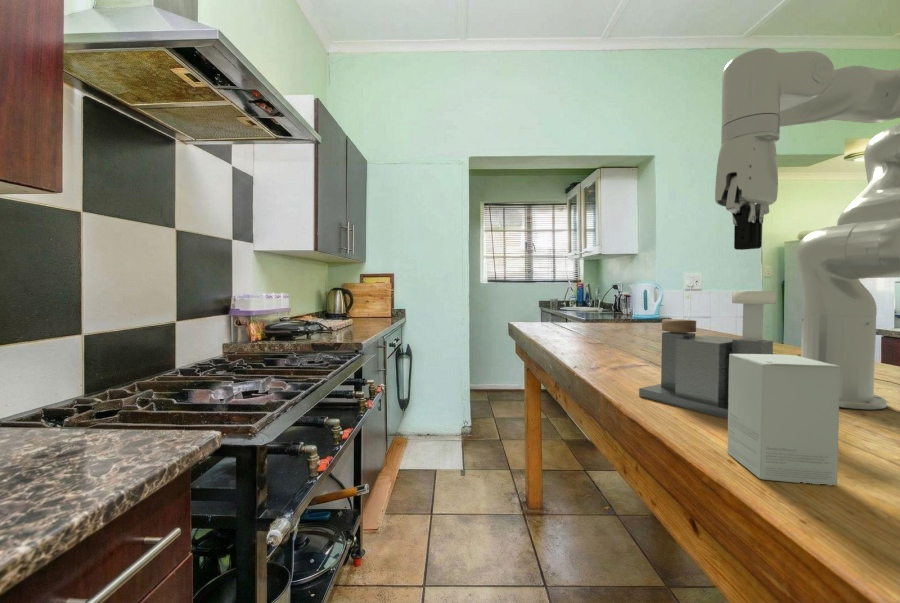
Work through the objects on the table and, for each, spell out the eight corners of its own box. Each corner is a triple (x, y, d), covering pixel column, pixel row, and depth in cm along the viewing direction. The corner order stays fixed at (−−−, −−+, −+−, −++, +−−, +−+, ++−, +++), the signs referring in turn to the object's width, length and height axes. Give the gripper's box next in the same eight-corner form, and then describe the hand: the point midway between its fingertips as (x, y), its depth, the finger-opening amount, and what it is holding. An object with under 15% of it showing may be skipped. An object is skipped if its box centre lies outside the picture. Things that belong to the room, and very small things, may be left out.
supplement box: (840, 487, 40) (844, 365, 40) (758, 480, 42) (761, 363, 41) (793, 457, 48) (796, 353, 47) (724, 452, 49) (727, 351, 49)
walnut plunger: (671, 378, 78) (672, 318, 78) (701, 384, 73) (702, 320, 73) (654, 381, 76) (655, 319, 75) (684, 388, 71) (685, 322, 70)
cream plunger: (740, 360, 68) (742, 290, 67) (780, 365, 63) (782, 291, 62) (723, 363, 65) (725, 291, 65) (764, 369, 60) (766, 291, 60)
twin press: (678, 387, 81) (679, 329, 80) (794, 412, 64) (796, 340, 64) (639, 396, 74) (640, 333, 74) (756, 426, 58) (758, 346, 57)
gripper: (747, 149, 70) (746, 252, 71) (698, 135, 63) (696, 249, 64) (800, 134, 64) (798, 248, 64) (751, 117, 57) (749, 244, 57)
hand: (747, 248), depth 64 cm, fingers closed
